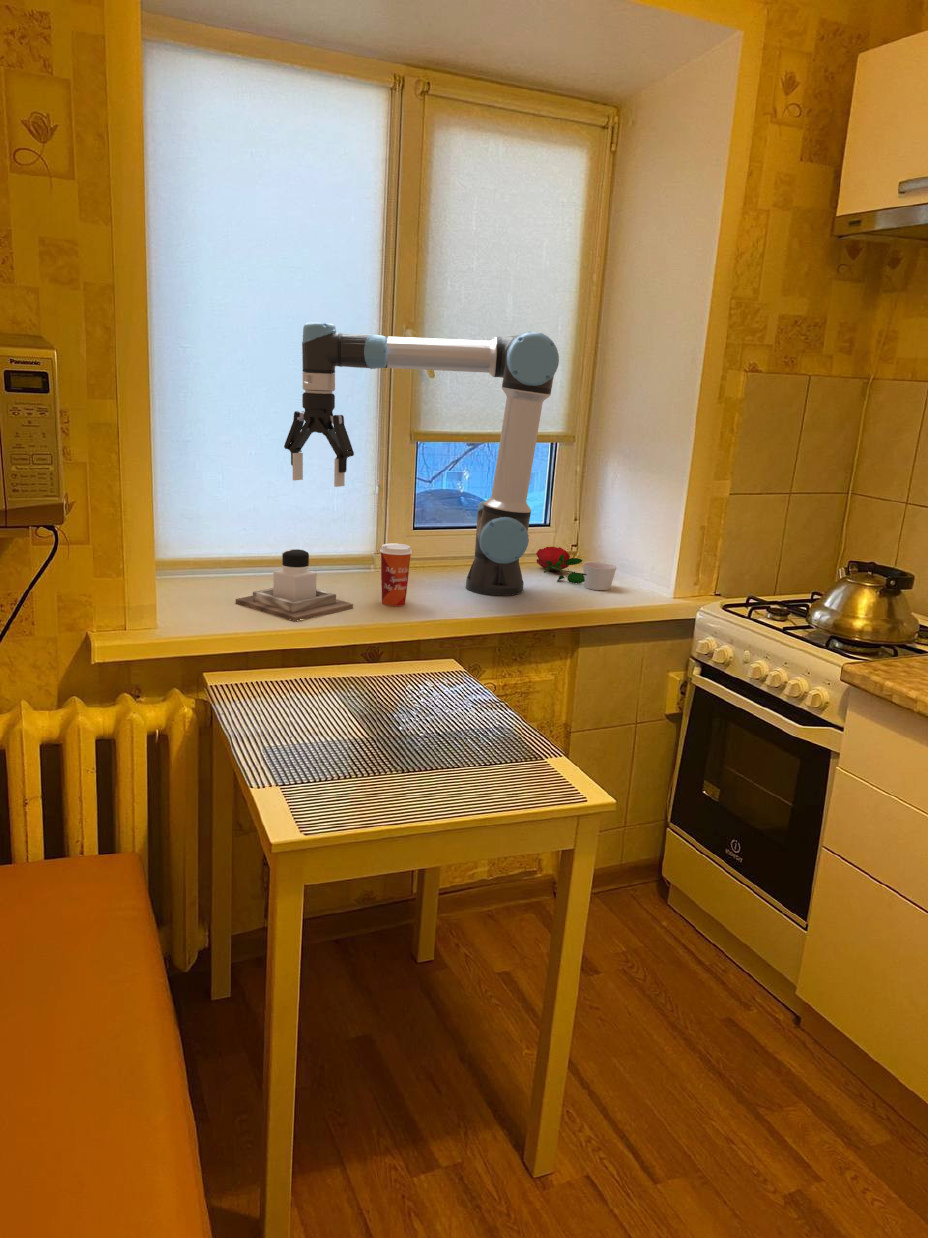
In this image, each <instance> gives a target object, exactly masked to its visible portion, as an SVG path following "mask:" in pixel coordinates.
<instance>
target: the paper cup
mask: <svg viewBox="0 0 928 1238" xmlns="http://www.w3.org/2000/svg"><path fill="white" fill-rule="evenodd" d="M379 552H380V582H381V583H380V584H381V602H382V605H385V606H388V607H390V606H391V607H400V606H405V605H406V599H407V592H408V591H407V589H408V584H409V583H408V581H409V573H410V564H411V563H410V562H411V556H412V554H413V551H412V548H411V546H410V545H408V544H403V543H394V542H393V543H391V542H390V543H383V544H382V545H381V547H380V549H379Z"/></svg>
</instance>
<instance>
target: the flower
mask: <svg viewBox="0 0 928 1238" xmlns="http://www.w3.org/2000/svg"><path fill="white" fill-rule="evenodd" d="M535 554H536V556H537V559H536V564H538V565H539V566H540V567H542V568H544V569H545V570H544V571H543V572H545V573H548V572H550V571H551V570H553V571H555V570H559V571H558V572H564V573H567V572H568V574H566V575H565V576H564V575H563V574H562V575H559V576H558V579H557V580H556V582H558V581H560V580H563V579H567V582H569V583H570V582H572V583H571V584H575V583H577V584H583V583H584V575H587V574H584V572H583V573H582V572H577V571H572V570H570V569H569V568H568V567H569V566H573V565H574V566H576V565H578V564H581V563H582V562H583V559H581V558H578V557H571V556H570V554H569V552H568V551H567V550H565V549H564V548H562V547H560V546H559V547H555V546H546V547H543V548H540V549H538V550H537V552H536V553H535ZM565 569H567V570H565ZM577 584H576V585H577Z"/></svg>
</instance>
